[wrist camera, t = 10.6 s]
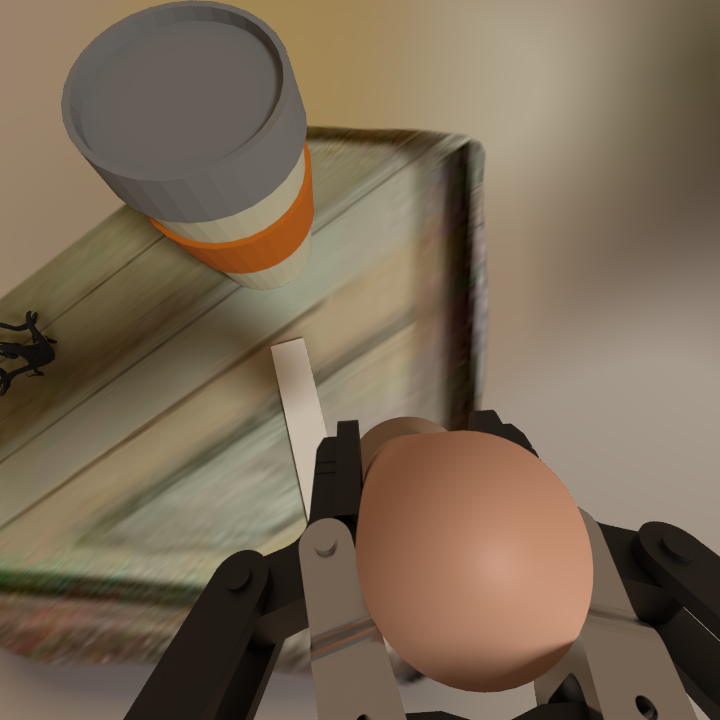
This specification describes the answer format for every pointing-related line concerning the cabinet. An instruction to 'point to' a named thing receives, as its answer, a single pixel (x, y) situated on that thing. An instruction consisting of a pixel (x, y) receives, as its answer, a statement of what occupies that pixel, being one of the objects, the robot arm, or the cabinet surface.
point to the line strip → (300, 409)
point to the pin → (469, 555)
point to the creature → (26, 351)
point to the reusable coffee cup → (200, 135)
